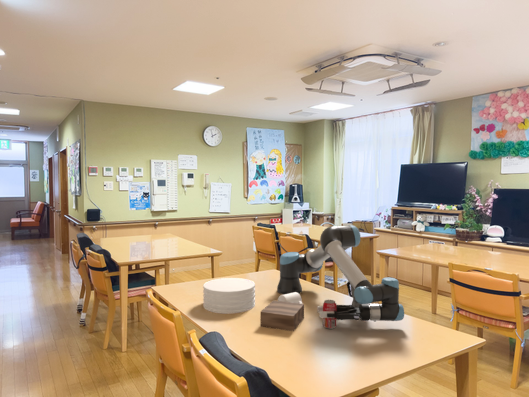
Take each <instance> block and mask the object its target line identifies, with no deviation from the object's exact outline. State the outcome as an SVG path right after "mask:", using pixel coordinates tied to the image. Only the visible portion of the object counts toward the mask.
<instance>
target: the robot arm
mask: <svg viewBox="0 0 529 397" xmlns="http://www.w3.org/2000/svg"><path fill="white" fill-rule="evenodd" d="M319 241H320V242H319V243H320V245H319V246H318V247H317V248H315V249H310V250H307V252H305V253H299V252H297V251H290V252H289V251H288V252H285V253H283V254H281V255H280V257H279V258H280V259H279V280H278V284H277V287H276V291H277V293H279V294H280V295H284V294H289V293H293V292H297V293H299V294H300V295H301V294H302V292H303V287H302V284H301V281H300V274H305V273H306V274H307V273H316V272H319V271H320V270H322V268H323V265H324V262H325V261H326V260H328V259H329V258H331V260H332V261H333V262H334V263H335V265H336V266H337V267H338V269H339V270H340V271H341V273H342V275H344V277H345V279H346V280H347V282H348V281H349V282H350V284H351V285H352V286H353V288H354V289H355V291H354V297H355V300H356V301H357V302H358V303H360V305H359V307H358V308H357V307H353V305H352V304H336V305H337V312H336V311H323V305H322V306H319V305H318V306H317V313H318V314H319V316H318V317H319V318H320V319H323V318H337V319H336V321H342V320H343V321H349V320H350V321H351V320H356V321H359V320H360V321H362V322H363V321H367V322H368V321H371V322H377V321H380V322H382V321H383V322H385V321H387V322H398V321H403V320H404V318H405V307H404V305H403V304H402V303H400V302H399V300H400V299H399V298H400V297H399V296H400V283H399V280H398V278H395V277H390V276H389V277H383V278H381V283H377V284H372V283H371V282H370V281H369V279H367V277H366V276H365V275H364V273H363V272H362V270H361V269H360V268H359V267H358V266H357V264H356V263H355V262H354V260H353V259H352V258H351V256H350V255H349V254H348V253H347V250H348V249H350V248H356V247H358V246H359V245H360V242H361V233H360V230H359V229H358V227H357V226H355V225H353V224H348V225H337V226H336V225H335V226H333V225H331V226H329V227H326V228H325V229H324V230H323V231H322V232H321V234H320V239H319ZM351 285H350V286H351ZM377 302H381V303H377Z"/></svg>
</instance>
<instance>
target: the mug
mask: <svg viewBox="0 0 529 397" xmlns="http://www.w3.org/2000/svg"><path fill="white" fill-rule="evenodd" d="M302 300H303V299H302V296H301V293H300V294H299V293H297V292H293V293H289V294H280V295H279V296H278V298H277V301H283V302H291V303H300V304H303V301H302Z"/></svg>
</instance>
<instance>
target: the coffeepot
mask: <svg viewBox="0 0 529 397" xmlns="http://www.w3.org/2000/svg"><path fill="white" fill-rule="evenodd" d="M346 287H347V291H348V296H349V297H351V298H352V302H351V305H353V307H357V308H358V307H359V305H360V303H358V302H357V301H356V300H355V297H354V291H355V289H354V288H353V286H352V285H351V284H350V282H349V281H348V280H347V282H346Z"/></svg>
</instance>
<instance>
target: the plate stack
mask: <svg viewBox="0 0 529 397" xmlns="http://www.w3.org/2000/svg"><path fill="white" fill-rule="evenodd" d="M202 286H203V287H202V288H203V292H202V293H203V295H202V296H203V299H202V300H203V301H202V302H203V308H204V310H206V311H208V312H211V313H216V314H224V315H225V314H226V315H227V314H229V315H230V314H231V315H232V314H240V313H244V312H248V311H250V310H252V309H253V308H254V307H255V306H256V283H255V282H254V281H253V280H252V279H251V280H250V279H247V278H241V277H221V278H214V279H211V280H209V281H205V283H203V285H202Z"/></svg>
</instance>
